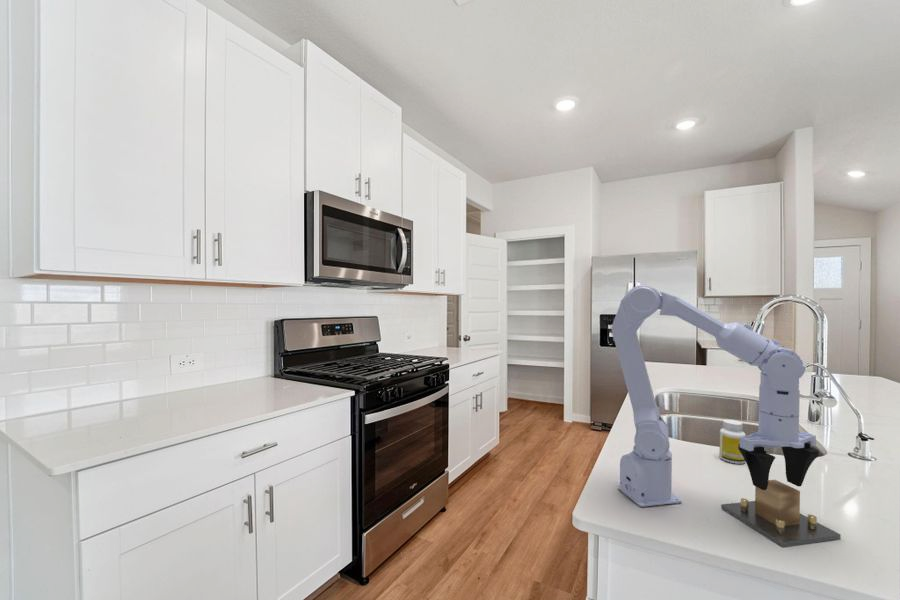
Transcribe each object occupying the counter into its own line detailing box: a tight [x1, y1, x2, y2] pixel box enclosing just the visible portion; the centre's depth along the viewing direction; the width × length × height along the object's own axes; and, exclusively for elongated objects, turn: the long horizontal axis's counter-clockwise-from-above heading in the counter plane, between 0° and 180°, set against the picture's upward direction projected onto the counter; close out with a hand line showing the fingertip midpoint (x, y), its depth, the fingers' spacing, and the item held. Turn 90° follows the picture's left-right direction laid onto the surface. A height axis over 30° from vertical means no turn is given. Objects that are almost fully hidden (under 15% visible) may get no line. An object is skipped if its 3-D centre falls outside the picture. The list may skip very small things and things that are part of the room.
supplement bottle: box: [718, 419, 747, 465], centre depth 100 cm, size 5×5×10 cm
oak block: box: [754, 479, 801, 526], centre depth 73 cm, size 4×4×6 cm
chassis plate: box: [720, 498, 842, 548], centre depth 73 cm, size 12×12×3 cm
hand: (777, 485), depth 73 cm, fingers open, 7 cm apart
